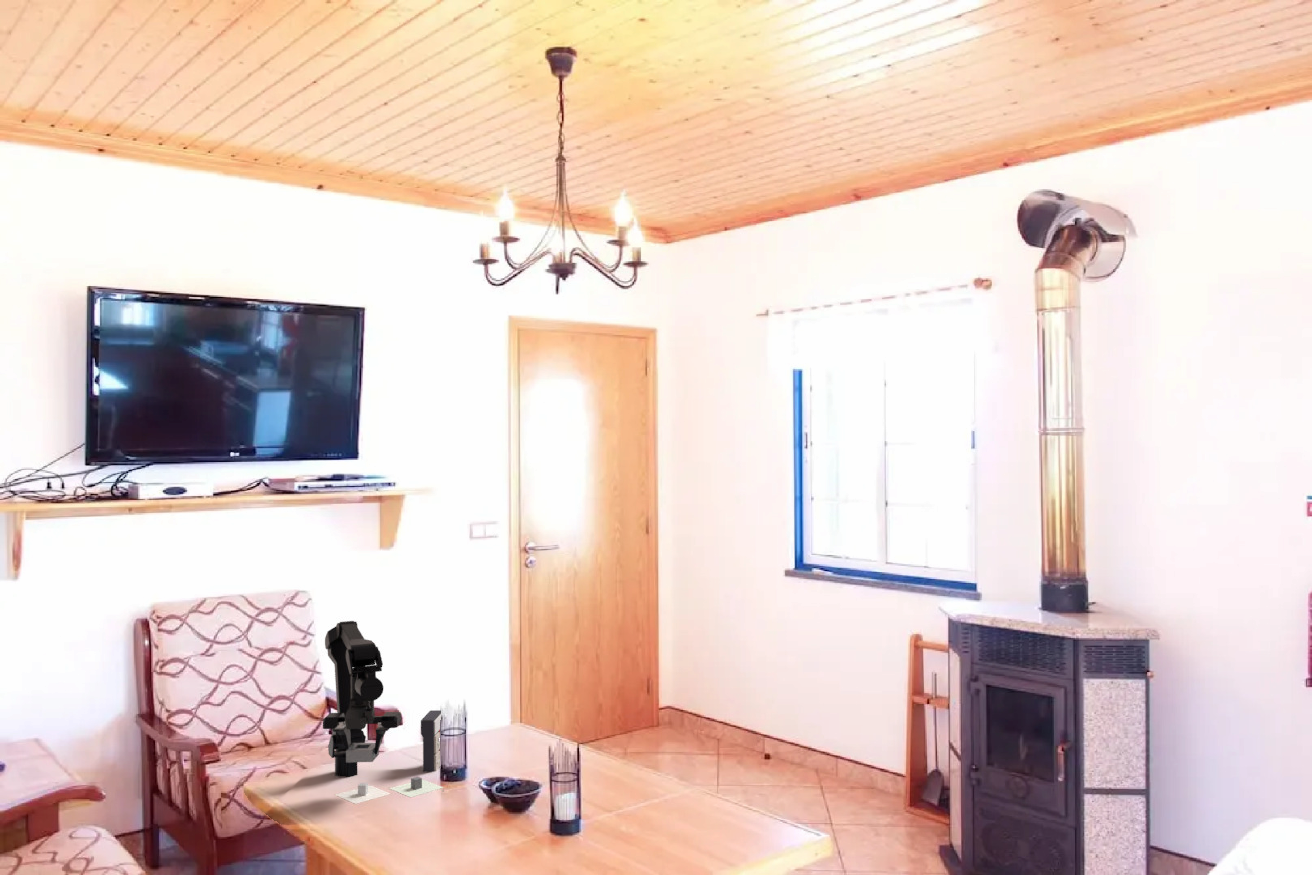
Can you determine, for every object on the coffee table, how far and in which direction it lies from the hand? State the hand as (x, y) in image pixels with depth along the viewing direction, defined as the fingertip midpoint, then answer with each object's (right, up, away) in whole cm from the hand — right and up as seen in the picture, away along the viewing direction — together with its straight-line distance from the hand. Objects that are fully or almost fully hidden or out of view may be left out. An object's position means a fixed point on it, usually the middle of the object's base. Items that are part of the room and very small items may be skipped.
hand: (362, 754), depth 259 cm
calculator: (+13, -12, +24) cm, 29 cm away
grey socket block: (0, -1, 0) cm, 1 cm away
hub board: (+13, -11, +4) cm, 17 cm away
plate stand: (0, -11, 0) cm, 11 cm away
